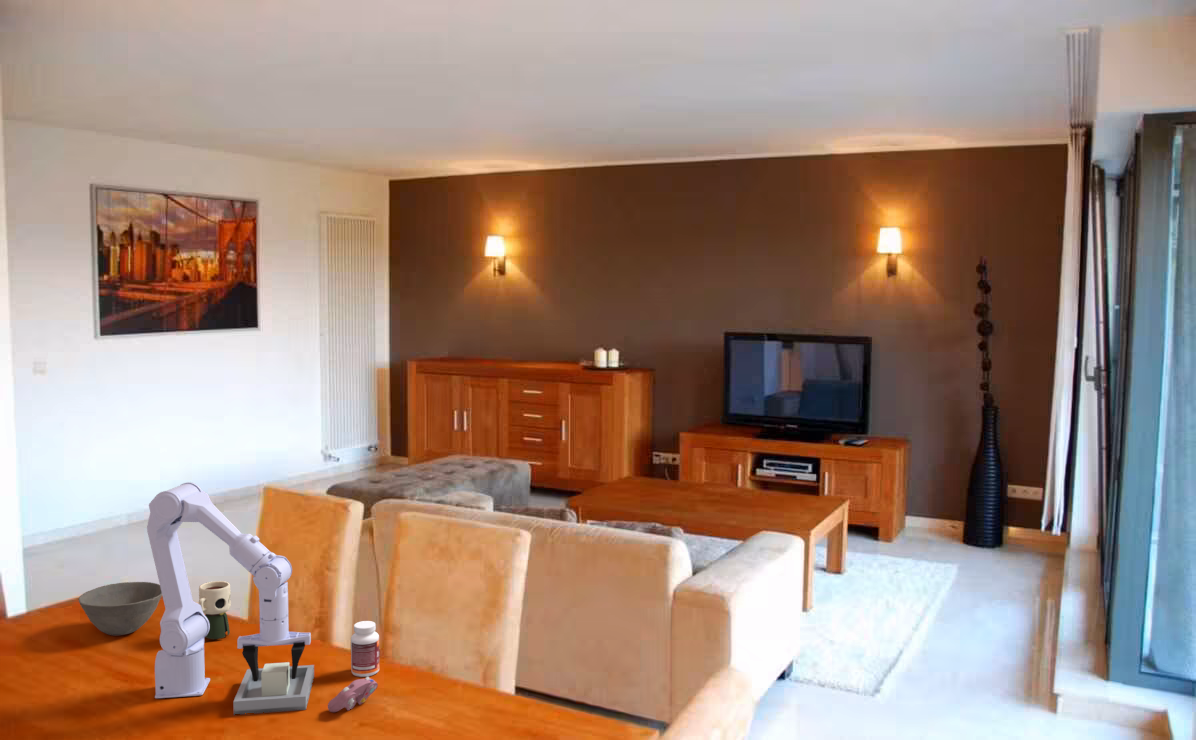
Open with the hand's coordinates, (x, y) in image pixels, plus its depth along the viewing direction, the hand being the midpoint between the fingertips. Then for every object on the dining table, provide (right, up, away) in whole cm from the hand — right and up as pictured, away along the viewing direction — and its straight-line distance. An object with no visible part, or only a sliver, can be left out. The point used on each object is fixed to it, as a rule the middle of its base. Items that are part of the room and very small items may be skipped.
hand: (275, 678), depth 198 cm
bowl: (-49, 0, +34) cm, 60 cm away
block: (0, -3, +1) cm, 3 cm away
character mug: (-26, -1, +32) cm, 41 cm away
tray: (0, -4, 0) cm, 4 cm away
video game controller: (+18, -5, -4) cm, 19 cm away
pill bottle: (+16, -3, +13) cm, 20 cm away
